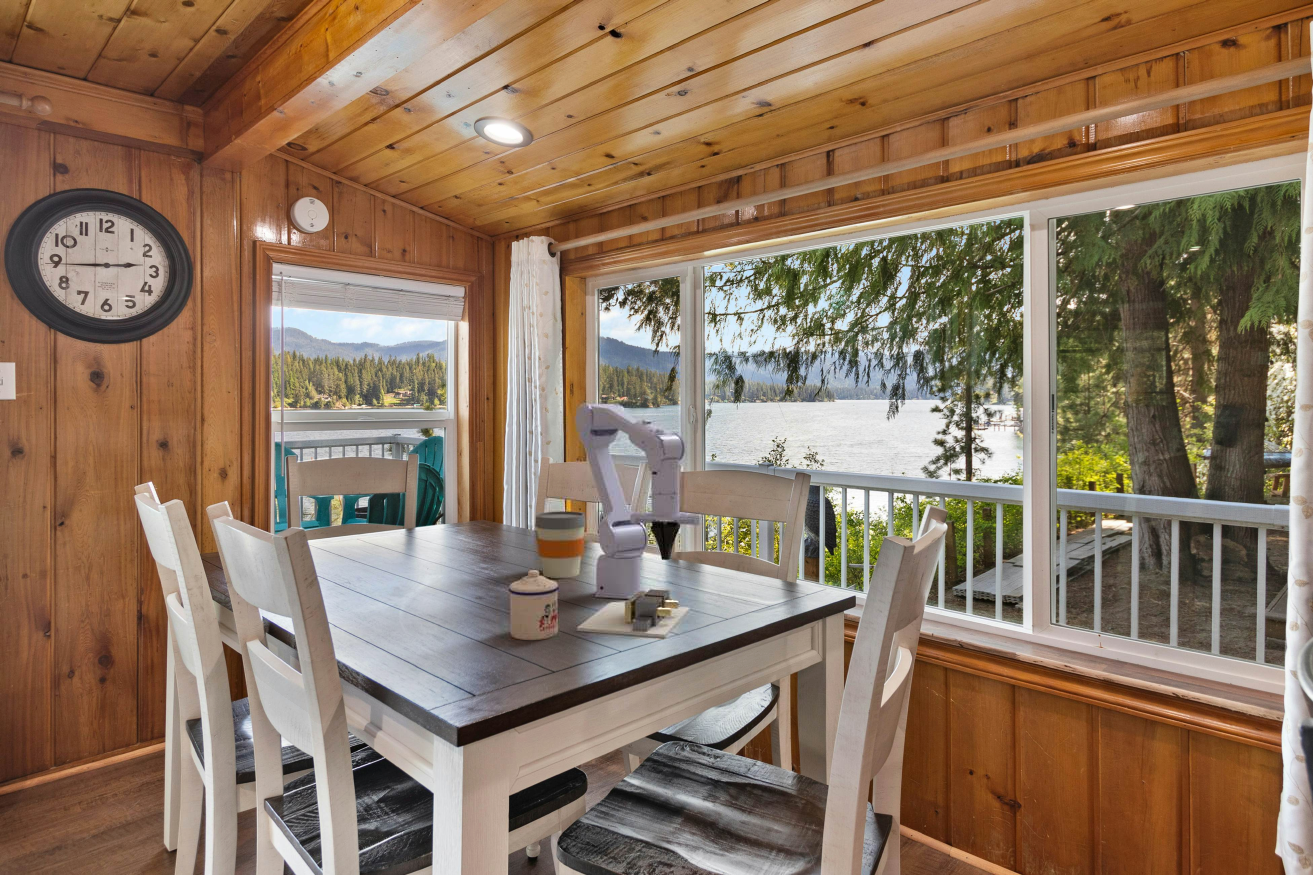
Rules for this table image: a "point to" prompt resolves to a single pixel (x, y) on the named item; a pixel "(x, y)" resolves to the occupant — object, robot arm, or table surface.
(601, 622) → the mat
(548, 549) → the reusable coffee cup
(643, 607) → the chain end near
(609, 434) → the robot arm
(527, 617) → the teacup with lid
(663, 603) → the dark grey notched block
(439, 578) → the table surface
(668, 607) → the gold metal bracket
